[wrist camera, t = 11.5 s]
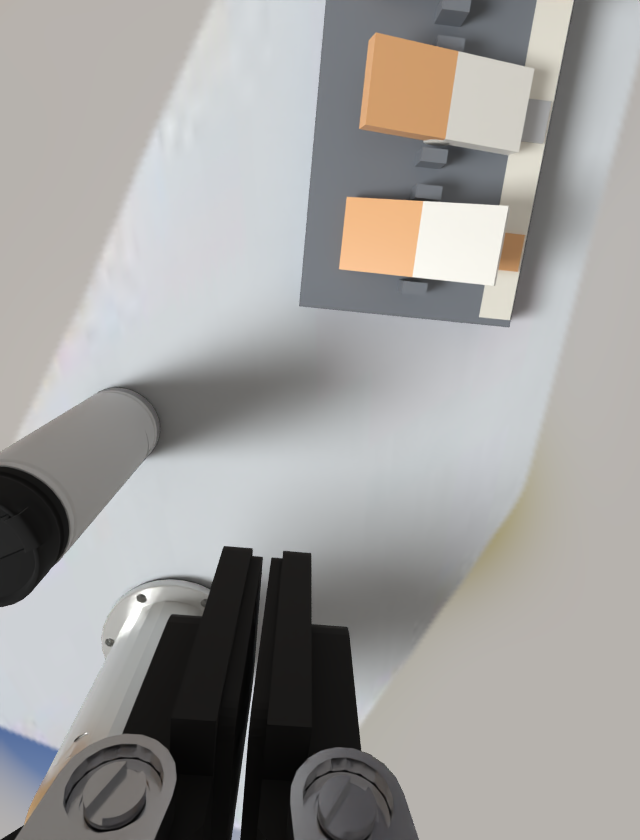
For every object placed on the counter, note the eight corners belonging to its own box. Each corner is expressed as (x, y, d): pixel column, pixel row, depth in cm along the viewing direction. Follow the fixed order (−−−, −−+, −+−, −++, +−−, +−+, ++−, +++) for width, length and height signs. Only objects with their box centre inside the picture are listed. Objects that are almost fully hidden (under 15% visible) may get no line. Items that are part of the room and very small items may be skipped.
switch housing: (495, 322, 41) (519, 330, 36) (300, 303, 40) (298, 308, 35) (575, -95, 33) (619, -155, 28) (337, -127, 33) (342, -195, 28)
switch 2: (496, 285, 34) (493, 285, 32) (349, 270, 37) (339, 269, 35) (510, 210, 32) (508, 205, 31) (356, 201, 36) (346, 196, 34)
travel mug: (178, 441, 43) (72, 586, 24) (107, 473, 44) (-52, 638, 24) (140, 372, 41) (-9, 467, 22) (66, 406, 42) (-140, 527, 23)
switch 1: (500, 157, 34) (518, 152, 33) (354, 131, 32) (365, 124, 30) (514, 78, 33) (534, 68, 31) (363, 45, 31) (375, 32, 29)
